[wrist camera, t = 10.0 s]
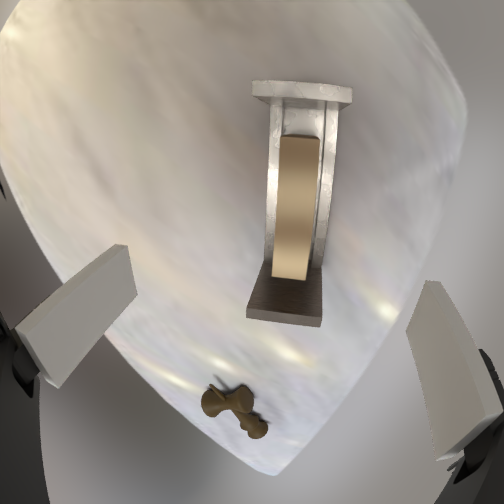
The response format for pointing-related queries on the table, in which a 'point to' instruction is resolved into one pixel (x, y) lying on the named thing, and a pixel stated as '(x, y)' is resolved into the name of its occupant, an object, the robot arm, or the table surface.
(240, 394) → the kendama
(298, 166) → the door panel
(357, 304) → the table surface
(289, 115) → the grey u-shaped piece
